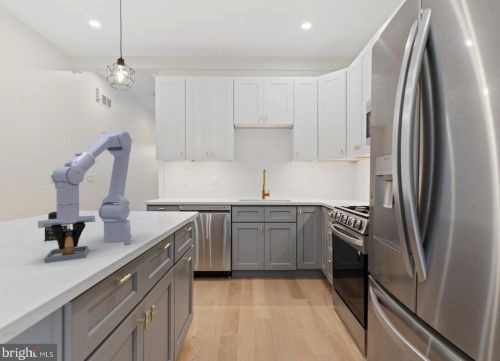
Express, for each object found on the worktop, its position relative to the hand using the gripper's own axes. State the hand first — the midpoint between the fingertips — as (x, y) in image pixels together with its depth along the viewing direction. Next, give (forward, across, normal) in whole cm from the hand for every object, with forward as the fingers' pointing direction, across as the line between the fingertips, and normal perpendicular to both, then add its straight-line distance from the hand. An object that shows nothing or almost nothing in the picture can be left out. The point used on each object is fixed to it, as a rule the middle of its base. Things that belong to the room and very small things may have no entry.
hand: (68, 247), depth 79 cm
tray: (+4, 0, 0) cm, 4 cm away
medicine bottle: (+4, -3, -31) cm, 31 cm away
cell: (+2, 0, 0) cm, 2 cm away
